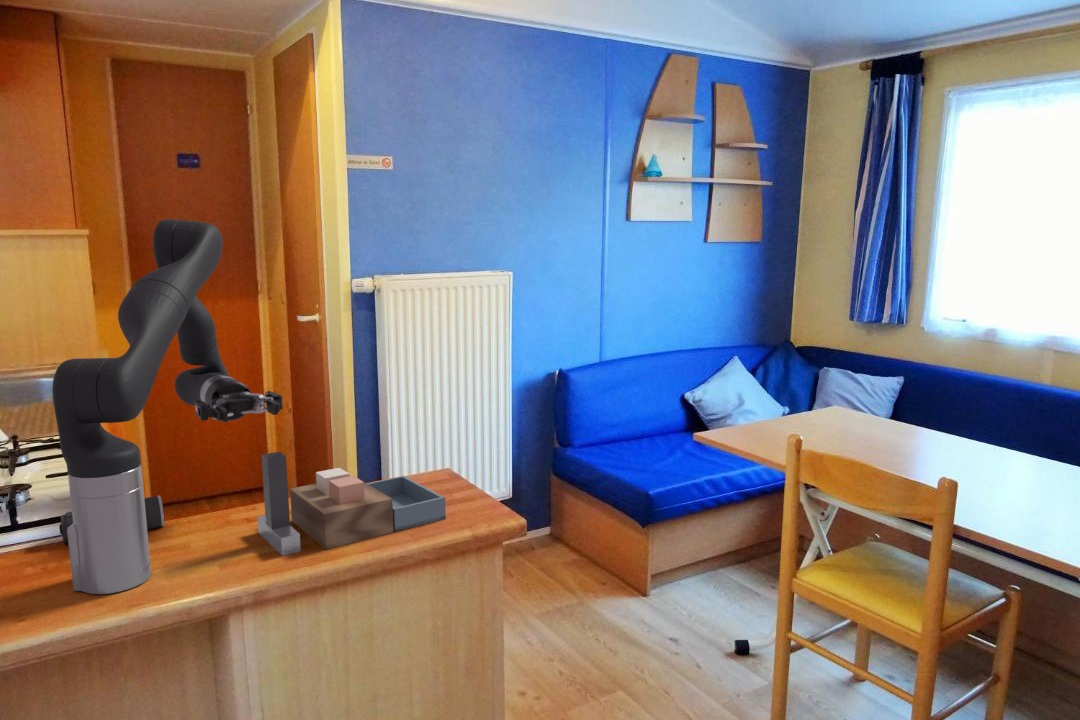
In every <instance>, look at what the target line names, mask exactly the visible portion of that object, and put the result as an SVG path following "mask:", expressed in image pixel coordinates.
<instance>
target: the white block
mask: <svg viewBox="0 0 1080 720" xmlns="http://www.w3.org/2000/svg"><path fill="white" fill-rule="evenodd" d="M350 476H351V475H350V473H349V472H348V471H346V470H344V469H342V467H336V468H335V467H334V468H332V469H331V468H330V469H326V470H319V471H316V472H315V481H316V482H315V484H316V485H317V489H318V490H320V491H321V492H322V493H324V494H325V495H329V494H330V492H329V481H330V480H335V479H340V478H345V477H350Z"/></svg>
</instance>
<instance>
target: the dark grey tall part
mask: <svg viewBox="0 0 1080 720" xmlns="http://www.w3.org/2000/svg"><path fill="white" fill-rule="evenodd" d="M261 467H262V470H261V471H262V481H263V482H262V483H263V498H264V499H263V500H264V513H265V514H264V515H259V516H257V530H258V531H257V532H258V534H259V535H260V536H261V537H262V538H263V540H265V541H266V542H267V543H268V544H269V545H270V546H271V547H273V549H275V551H276V552H277V553H279V554H280V555H281V557H284V556H288V555H291V554H296V553H299V552H301V551H302V548H301V534H300V532H298V531H297V530H296V529H295V528H294V527H293V526H292V525H291V518H290V517H291V516H290V515H291V514H290V501H289V498H290V497H289V483H288V469H287V468H288V467H287V455H286V454H284V453H283V452H281V451H275V452H269V453H268V452H267V453H264V454H261Z"/></svg>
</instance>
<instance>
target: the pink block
mask: <svg viewBox="0 0 1080 720" xmlns="http://www.w3.org/2000/svg"><path fill="white" fill-rule="evenodd" d="M359 479H360V478H358V477H356V476H355V477H354V475H350V477H345V478H340V479H335V480H330V481H329V492H330V498H331V499H333V500H334V501H336V502H337V503H339V504H344V503H349V502H353V501H358V500H362V499H365V497H364V482H365V481H363V480H361V479H360V480H359Z"/></svg>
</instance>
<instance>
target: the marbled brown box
mask: <svg viewBox="0 0 1080 720" xmlns="http://www.w3.org/2000/svg"><path fill="white" fill-rule="evenodd" d="M353 476H354V475H353ZM354 477H356V476H354ZM358 479H359V480H361V479H360V478H358ZM363 482H364V497H365V499H362V500H358V501H353V502H349V503H344V504H339V503H337V502H336V501H334V500H333V499H331V498H330V494H329V495H325V494H324V493H322V492H321V491H320V490H318V489H317V485H316V483H312V484H307V485H302V486H297V487H293V488H290V489H289V494H290V497H289V498H290V510H291V512H290V513H291V514H290V515H291V522H292V523H293V524H295V525H296V526H297V527H298V528H300V529H301V530H302V531H303V532H304V533H305V534H307V535H308V536H309V537H310V538H312V539H313V540H314V541H316V543H317V544H319V545H320V546H321V547H323V548H324V549H325V550H329V549H333V548H338V547H342V546H346V545H349V544H353V543H357V542H362V541H365V540H369V539H373V538H378V537H380V536H384V535H388V534H392V533H394V532H395V531H393V503H392V498H390V497H389V496H387V495H385V494H383V493H382V492H380V491H378V490H377V489H375V488H373V487H372V486H370V485H368V484H367V483H368V482H367V483H366V482H365V481H363Z"/></svg>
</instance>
